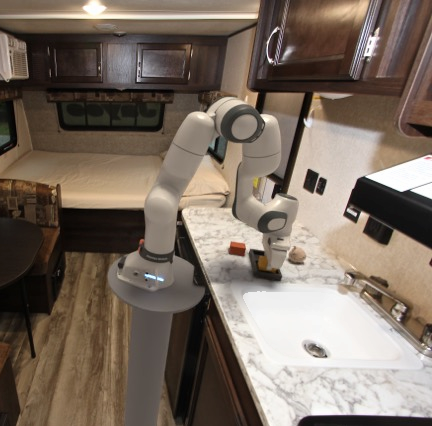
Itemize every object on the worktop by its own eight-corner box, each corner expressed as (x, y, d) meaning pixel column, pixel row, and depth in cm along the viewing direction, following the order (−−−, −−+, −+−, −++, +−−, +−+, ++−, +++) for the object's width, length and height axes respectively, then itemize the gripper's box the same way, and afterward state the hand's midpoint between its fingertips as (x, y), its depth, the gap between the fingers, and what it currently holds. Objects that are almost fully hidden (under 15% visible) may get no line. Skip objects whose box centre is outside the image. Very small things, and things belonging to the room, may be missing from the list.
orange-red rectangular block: (229, 253, 130) (231, 246, 128) (229, 248, 134) (230, 241, 132) (244, 256, 128) (246, 248, 127) (243, 251, 132) (245, 243, 131)
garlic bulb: (285, 255, 129) (290, 239, 126) (302, 258, 128) (307, 242, 124) (288, 263, 124) (293, 247, 120) (305, 266, 122) (311, 250, 119)
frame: (254, 276, 115) (255, 271, 114) (248, 253, 131) (250, 248, 129) (280, 281, 112) (282, 276, 111) (272, 257, 128) (273, 252, 127)
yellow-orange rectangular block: (259, 269, 116) (261, 261, 114) (257, 263, 120) (259, 255, 118) (275, 272, 114) (278, 264, 113) (273, 266, 118) (275, 258, 117)
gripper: (262, 221, 120) (255, 250, 126) (272, 246, 103) (262, 278, 108) (279, 224, 119) (271, 252, 125) (292, 249, 101) (281, 281, 107)
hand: (267, 264), depth 116 cm, fingers closed on yellow-orange rectangular block, 4 cm apart
